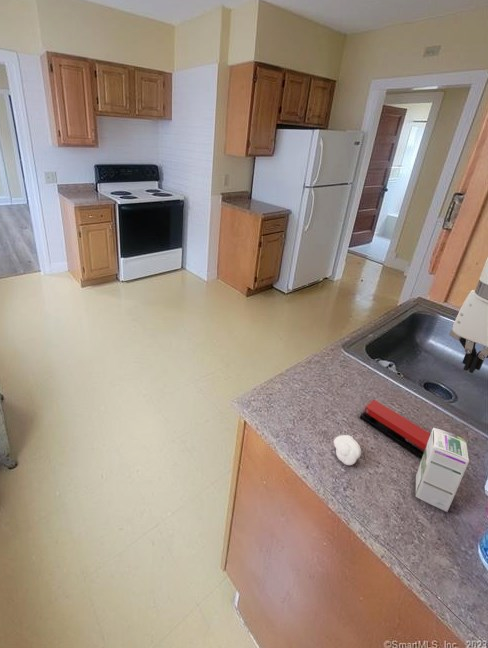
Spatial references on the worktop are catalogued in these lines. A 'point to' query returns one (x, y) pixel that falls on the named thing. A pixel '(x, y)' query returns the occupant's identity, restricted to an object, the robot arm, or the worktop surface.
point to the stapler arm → (398, 424)
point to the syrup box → (441, 469)
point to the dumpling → (347, 449)
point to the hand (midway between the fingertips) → (469, 368)
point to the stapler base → (393, 435)
